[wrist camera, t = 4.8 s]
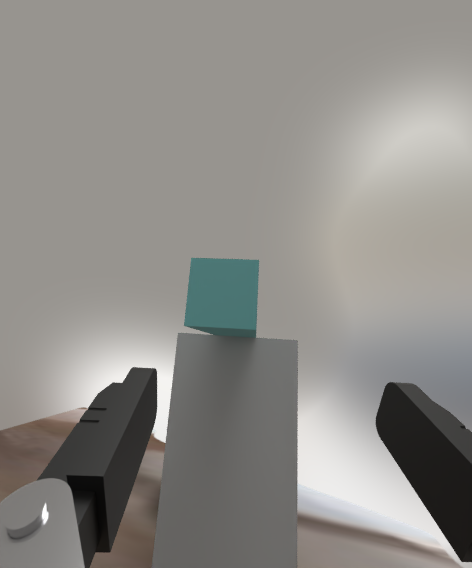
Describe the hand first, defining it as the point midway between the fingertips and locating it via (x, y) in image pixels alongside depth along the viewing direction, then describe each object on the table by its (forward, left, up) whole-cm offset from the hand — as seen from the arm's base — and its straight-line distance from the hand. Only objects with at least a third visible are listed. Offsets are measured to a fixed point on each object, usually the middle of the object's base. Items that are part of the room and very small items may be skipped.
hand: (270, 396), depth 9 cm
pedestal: (-19, -16, -29) cm, 38 cm away
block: (-14, -12, +3) cm, 19 cm away
